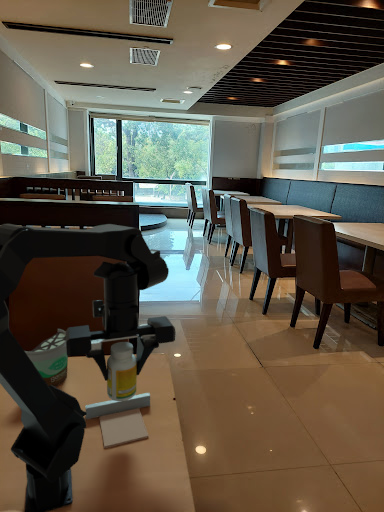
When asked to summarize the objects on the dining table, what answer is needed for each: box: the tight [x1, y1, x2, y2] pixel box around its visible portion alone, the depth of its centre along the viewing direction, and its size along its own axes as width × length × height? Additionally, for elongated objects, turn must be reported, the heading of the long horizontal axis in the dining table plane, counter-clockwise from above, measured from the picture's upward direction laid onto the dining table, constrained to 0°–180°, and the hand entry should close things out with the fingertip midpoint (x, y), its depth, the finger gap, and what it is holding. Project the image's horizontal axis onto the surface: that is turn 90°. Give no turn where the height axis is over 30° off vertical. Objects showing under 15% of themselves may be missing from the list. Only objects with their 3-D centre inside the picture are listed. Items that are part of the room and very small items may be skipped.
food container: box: [24, 328, 69, 388], centre depth 79 cm, size 12×6×10 cm, turn 164°
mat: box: [99, 408, 149, 449], centre depth 66 cm, size 8×8×1 cm
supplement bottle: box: [106, 341, 138, 401], centre depth 63 cm, size 5×5×10 cm
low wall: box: [84, 392, 151, 420], centre depth 70 cm, size 1×13×2 cm, turn 111°
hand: (121, 376), depth 63 cm, fingers closed on supplement bottle, 5 cm apart
